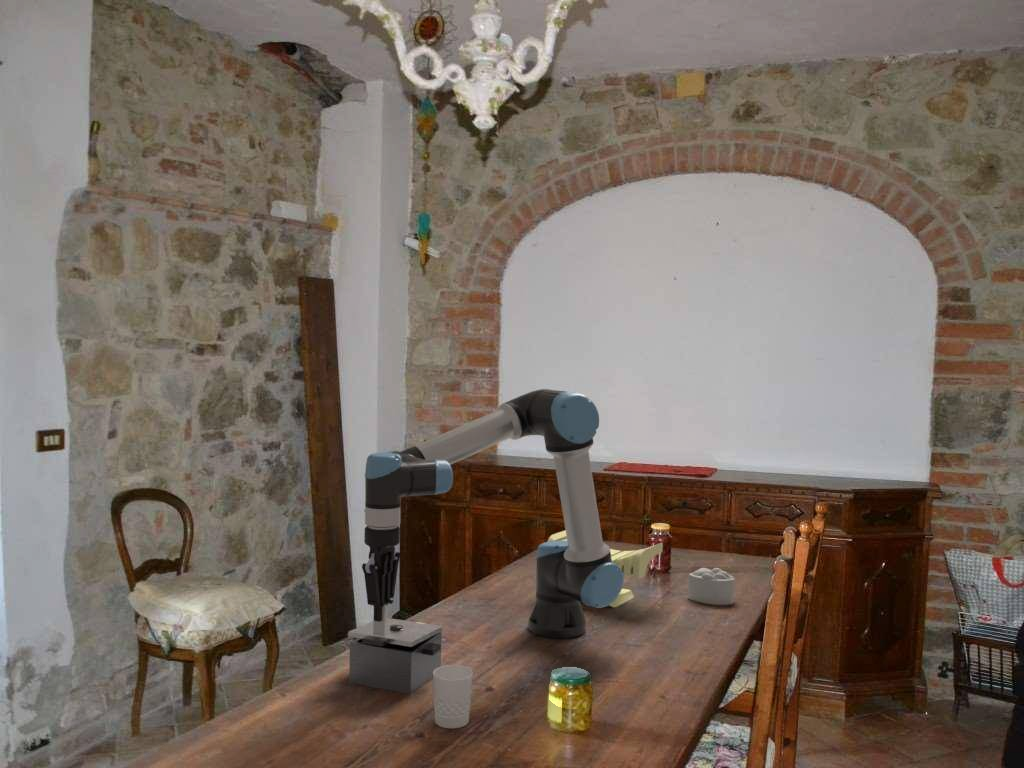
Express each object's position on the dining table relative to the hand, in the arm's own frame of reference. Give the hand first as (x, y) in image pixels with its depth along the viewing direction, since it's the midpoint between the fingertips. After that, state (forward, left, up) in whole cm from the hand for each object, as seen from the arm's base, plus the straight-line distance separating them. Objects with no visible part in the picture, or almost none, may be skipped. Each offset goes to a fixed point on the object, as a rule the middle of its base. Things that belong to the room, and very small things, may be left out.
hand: (380, 634), depth 191 cm
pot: (0, -8, -12) cm, 14 cm away
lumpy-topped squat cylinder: (-57, -99, -12) cm, 115 cm away
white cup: (-21, +8, -12) cm, 26 cm away
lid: (0, -6, -2) cm, 6 cm away
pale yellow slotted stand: (-27, -85, -12) cm, 90 cm away
